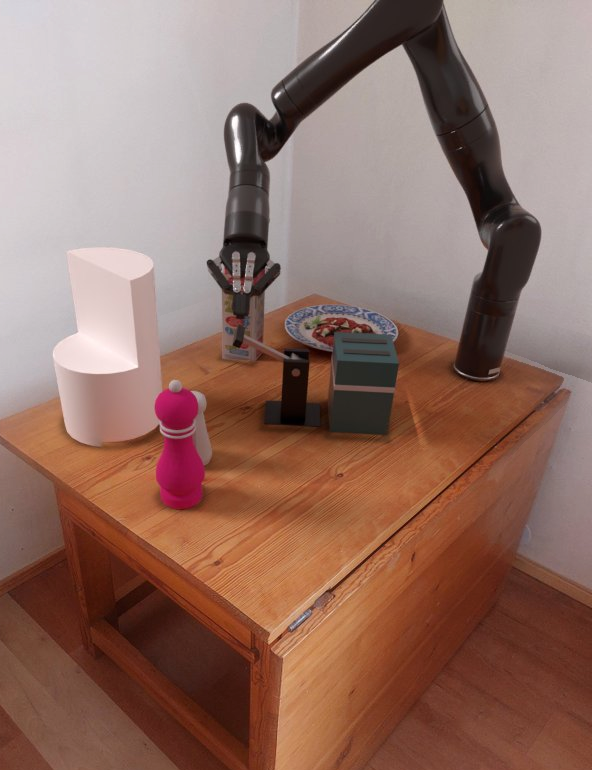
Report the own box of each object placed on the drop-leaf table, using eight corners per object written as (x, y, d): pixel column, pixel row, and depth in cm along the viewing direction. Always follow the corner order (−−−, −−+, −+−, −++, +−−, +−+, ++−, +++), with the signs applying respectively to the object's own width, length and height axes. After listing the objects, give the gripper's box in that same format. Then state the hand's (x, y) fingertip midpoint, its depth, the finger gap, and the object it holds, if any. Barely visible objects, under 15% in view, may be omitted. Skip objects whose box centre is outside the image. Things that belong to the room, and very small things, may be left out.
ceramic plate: (418, 337, 147) (421, 325, 145) (349, 373, 131) (351, 360, 129) (332, 304, 161) (333, 293, 159) (261, 333, 145) (261, 321, 144)
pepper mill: (213, 488, 99) (210, 373, 87) (193, 516, 93) (188, 398, 82) (171, 477, 100) (163, 364, 89) (149, 504, 95) (137, 387, 83)
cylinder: (127, 385, 123) (111, 240, 107) (184, 421, 114) (176, 267, 98) (46, 418, 113) (15, 262, 97) (101, 459, 103) (77, 295, 87)
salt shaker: (170, 469, 102) (165, 399, 95) (187, 450, 106) (183, 382, 99) (202, 479, 100) (200, 408, 93) (218, 459, 105) (217, 390, 97)
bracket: (264, 429, 113) (266, 364, 105) (266, 405, 119) (268, 343, 112) (320, 432, 113) (326, 367, 105) (319, 408, 119) (325, 346, 112)
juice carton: (234, 346, 139) (234, 245, 127) (262, 352, 138) (266, 250, 125) (222, 359, 134) (221, 255, 121) (251, 365, 132) (253, 260, 120)
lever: (230, 347, 105) (237, 336, 104) (233, 332, 110) (240, 321, 109) (299, 381, 108) (306, 371, 107) (299, 365, 113) (306, 354, 112)
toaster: (328, 437, 111) (336, 360, 103) (325, 404, 121) (333, 330, 112) (387, 440, 111) (400, 363, 103) (380, 406, 121) (392, 333, 112)
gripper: (205, 206, 104) (198, 306, 102) (286, 211, 104) (280, 310, 101) (210, 230, 112) (202, 323, 109) (285, 234, 112) (280, 327, 109)
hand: (240, 317), depth 105 cm, fingers closed
